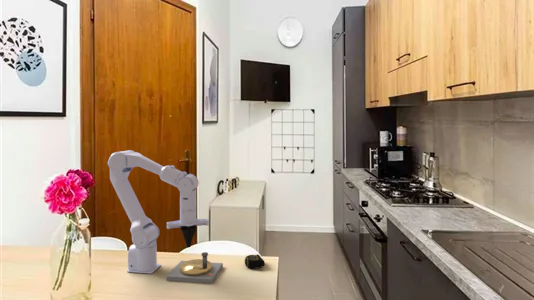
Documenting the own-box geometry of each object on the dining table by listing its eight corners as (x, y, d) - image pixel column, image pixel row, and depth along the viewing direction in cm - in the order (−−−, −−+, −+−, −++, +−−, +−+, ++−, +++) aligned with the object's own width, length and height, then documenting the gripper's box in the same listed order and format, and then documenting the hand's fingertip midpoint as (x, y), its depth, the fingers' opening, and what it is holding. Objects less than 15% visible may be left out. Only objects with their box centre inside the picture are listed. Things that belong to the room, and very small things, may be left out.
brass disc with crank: (173, 270, 126) (173, 251, 126) (196, 260, 135) (196, 243, 135) (195, 278, 120) (195, 258, 119) (218, 268, 129) (218, 249, 128)
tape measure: (265, 269, 132) (265, 259, 132) (247, 271, 130) (247, 261, 130) (259, 262, 139) (260, 253, 139) (242, 264, 137) (242, 254, 137)
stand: (166, 280, 122) (166, 275, 122) (181, 264, 136) (181, 260, 136) (212, 283, 120) (212, 279, 120) (222, 267, 134) (222, 262, 133)
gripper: (168, 213, 121) (168, 252, 122) (210, 210, 126) (210, 247, 127) (166, 208, 127) (166, 245, 129) (206, 205, 133) (206, 241, 134)
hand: (188, 246), depth 128 cm, fingers closed
